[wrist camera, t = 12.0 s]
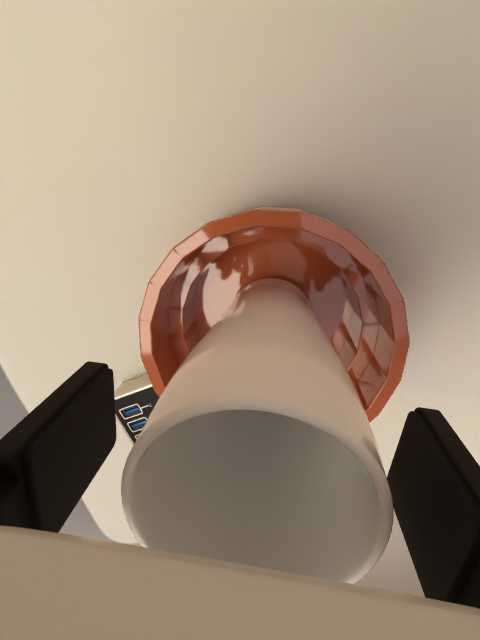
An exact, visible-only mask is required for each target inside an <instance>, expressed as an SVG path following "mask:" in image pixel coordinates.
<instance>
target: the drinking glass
mask: <svg viewBox="0 0 480 640" xmlns="http://www.w3.org/2000/svg"><path fill="white" fill-rule="evenodd" d="M121 495H122V504H123V509H124V513H125V516H126V519H127V522H128V524H129V526H130V528H131V530H132V532H133V534H134V536H135V538H136V539H137V541H138V542H139V544H140V545H141V546H142V547H146V548H152V549H158V550H164V551H169V552H175V553H181V554H187V555H193V556H198V557H204V558H210V559H215V560H221V561H227V562H233V563H238V564H244V565H250V566H255V567H261V568H267V569H272V570H278V571H284V572H289V573H295V574H300V575H306V576H311V577H317V578H322V579H328V580H333V581H339V582H344V583H350V584H355V583H356V582H357V581H359V580H360V579H361V578H362V577H364V576H365V575H366V574H367V572H369V571H370V570H371V569H372V568H373V566H374V565H375V564H376V563H377V561H378V560H379V559H380V557H381V555H382V554H383V552H384V550H385V548H386V546H387V544H388V541H389V538H390V534H391V531H392V525H393V501H392V495H391V491H390V487H389V484H388V481H387V478H386V475H385V471H384V468H383V464H382V461H381V457H380V454H379V451H378V447H377V444H376V441H375V438H374V435H373V432H372V429H371V426H370V423H369V421H368V418H367V415H366V412H365V410H364V407H363V405H362V402H361V400H360V397H359V395H358V393H357V390H356V388H355V386H354V384H353V382H352V380H351V378H350V376H349V374H348V372H347V370H346V368H345V366H344V365H343V363H342V361H341V359H340V357H339V356H338V354H337V352H336V350H335V349H334V347H333V345H332V344H331V342H330V340H329V339H328V337H327V335H326V333H325V332H324V330H323V328H322V326H321V325H320V323H319V321H318V319H317V318H316V316H315V314H314V312H313V308H312V305H311V303H310V301H309V299H308V298H307V296H306V295H305V293H304V292H303V291H302V290H301V289H300V288H298V287H297V286H296V285H294V284H293V283H291V282H289V281H286V280H283V279H278V278H263V279H259V280H256V281H253V282H251V283H249V284H248V285H246V286H245V287H244V288H242V289H241V290H240V291H239V292H238V294H237V295H236V296H235V298H234V299H233V301H232V303H231V305H230V306H229V307H228V309H227V310H226V311H225V312H224V313H223V314H222V316H221V317H220V318H219V319H218V320H217V321H216V323H215V324H214V325H213V326H212V327H211V328H210V329H209V331H208V332H207V333H206V334H205V335H204V336H203V338H202V339H201V340H200V341H199V342H198V343H197V345H196V346H195V347H194V348H193V349H192V351H191V352H190V353H189V354H188V355H187V357H186V358H185V359H184V361H183V362H182V363H181V365H180V366H179V367H178V369H177V370H176V372H175V373H174V375H173V376H172V378H171V379H170V381H169V383H168V384H167V386H166V387H165V389H164V391H163V392H162V394H161V396H160V397H159V399H158V401H157V402H156V404H155V406H154V408H153V410H152V411H151V413H150V415H149V417H148V419H147V421H146V423H145V425H144V427H143V429H142V431H141V433H140V435H139V437H138V439H137V440H136V442H135V444H134V446H133V447H132V449H131V451H130V453H129V456H128V458H127V460H126V463H125V467H124V470H123V475H122V483H121Z"/></svg>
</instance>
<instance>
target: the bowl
mask: <svg viewBox="0 0 480 640" xmlns="http://www.w3.org/2000/svg"><path fill="white" fill-rule="evenodd" d="M263 278H278V279H283V280H286V281H289V282H291V283H293V284H294V285H296V286H297V287H298V288H300V289H301V290H302V291H303V292H304V293H305V295H306V296H307V298H308V299H309V301H310V303H311V305H312V308H313V312H314V314H315V316H316V318H317V319H318V321H319V323H320V325H321V326H322V328H323V330H324V332H325V333H326V335H327V337H328V339H329V340H330V342H331V344H332V345H333V347H334V349H335V350H336V352H337V354H338V356H339V357H340V359H341V361H342V363H343V365H344V366H345V368H346V370H347V372H348V374H349V376H350V378H351V380H352V382H353V384H354V386H355V388H356V390H357V393H358V395H359V397H360V400H361V402H362V405H363V407H364V410H365V412H366V415H367V418H368V421H369V422H370V421H372V420H373V419H374V418H375V417H377V416H378V415H379V413H380V412H381V411H382V409H383V408H384V406H385V404H386V403H387V401H388V400H389V398H390V397H391V395H392V394H393V392H394V390H395V389H396V387H397V386H398V384H399V383H400V381H401V378H402V373H403V369H404V365H405V361H406V356H407V352H408V348H409V344H410V343H409V332H408V325H407V317H406V309H405V302H404V298H403V297H402V295H401V293H400V291H399V289H398V287H397V285H396V284H395V282H394V280H393V278H392V276H391V274H390V272H389V271H388V269H387V267H386V265H385V263H384V262H383V260H382V259H381V258H380V257H378V256H377V255H376V254H375V253H374V252H373V251H372V250H370V249H369V248H368V247H367V246H366V245H365V244H364V243H362V242H361V241H360V240H359V239H358V238H357V237H356V236H355V235H353V234H352V233H351V232H350V231H349V230H347V229H345V228H343V227H341V226H339V225H337V224H335V223H333V222H331V221H329V220H326V219H324V218H321V217H319V216H316V215H314V214H311V213H309V212H306V211H304V210H301V209H298V208H285V207H264V206H262V207H257V208H254V209H250V210H247V211H243V212H240V213H236V214H233V215H230V216H226V217H223V218H220V219H217V220H214V221H211V222H209V223H207V224H206V225H204V226H203V227H202V228H200V229H199V230H197V231H196V232H194V233H193V234H192V235H190V236H189V237H187V238H186V239H185V240H183V241H182V242H180V243H179V244H177V245H176V246H175V247H174V248H173V249H172V250H171V251H170V252H169V254H168V255H167V257H166V258H165V260H164V261H163V262H162V264H161V265H160V267H159V268H158V269H157V271H156V272H155V274H154V275H153V277H152V278H151V279H150V282H149V283H148V286H147V290H146V294H145V297H144V301H143V304H142V308H141V312H140V315H139V332H140V348H141V358H142V361H143V363H144V366H145V368H146V371H147V373H148V376H149V379H150V381H151V384H152V386H153V389H154V390H155V392H156V394H157V395H158V396H159V397H160V396H161V394H162V392H163V391H164V389H165V387H166V386H167V384H168V383H169V381H170V379H171V378H172V376H173V375H174V373H175V372H176V370H177V369H178V367H179V366H180V365H181V363H182V362H183V361H184V359H185V358H186V357H187V355H188V354H189V353H190V352H191V351H192V349H193V348H194V347H195V346H196V345H197V343H198V342H199V341H200V340H201V339H202V338H203V336H204V335H205V334H206V333H207V332H208V331H209V329H210V328H211V327H212V326H213V325H214V324H215V323H216V321H217V320H218V319H219V318H220V317H221V316H222V314H223V313H224V312H225V311H226V310H227V309H228V307H229V306H230V305H231V303H232V301H233V299H234V298H235V296H236V295H237V294H238V292H239V291H240V290H241V289H242V288H244V287H245V286H246V285H248V284H249V283H251V282H253V281H256V280H259V279H263Z"/></svg>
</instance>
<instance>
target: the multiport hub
mask: <svg viewBox="0 0 480 640" xmlns="http://www.w3.org/2000/svg"><path fill="white" fill-rule="evenodd" d="M114 399H115V417H116V418H117V420H118V422H119V423H120V425H121V426H122V428H123V429H124V431H125V433H126V434H127V436H128V437H129V439H130V441H131V442H132V444H133V445H134V444H135V442H136V440H137V439H138V437H139V435H140V433H141V431H142V429H143V427H144V425H145V423H146V421H147V419H148V417H149V415H150V413H151V411H152V410H153V408H154V406H155V404H156V402H157V401H158V399H159V396H158V395H157V394H156V392H155V390H154V389H153V386H152V384H151V381H150V379H149V376H148V373H147V374H145V375H142V376H139V377H137V378H134V379H131V380H129V381H126V382H123V383H122V384H121V385H120V386H119V388H118V389H117V390H116V391H115V392H114Z"/></svg>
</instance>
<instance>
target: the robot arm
mask: <svg viewBox="0 0 480 640" xmlns="http://www.w3.org/2000/svg"><path fill="white" fill-rule="evenodd" d="M115 441H116V418H115V399H114V380H113V371H112V369H109V368H108V365H107V364H104V363H97V362H86V363H85V364H84V365H83V366H82V367H81V368H80V369H78V370H77V371H76V372H75V373H74V374H73V375H72V376H71V377H70V378H68V379H67V380H66V381H65V382H64V383H63V384H62V385H61V386H60V387H58V388H57V389H56V390H55V391H54V392H53V393H52V394H51V395H50V396H48V397H47V398H46V399H45V400H44V401H43V402H42V403H41V404H40V405H38V406H37V407H36V408H35V409H34V410H33V411H32V412H31V413H30V414H28V415H27V416H26V417H25V418H24V419H23V420H22V421H21V422H19V423H18V424H17V425H16V426H15V427H14V428H13V429H12V430H11V431H10V432H8V433H7V434H6V435H5V436H4V437H3V438H2V439H1V440H0V640H480V466H479V465H478V463H477V462H476V461H475V459H474V458H473V457H472V455H471V454H470V452H469V451H468V450H467V448H466V447H465V445H464V444H463V443H462V441H461V440H460V438H459V437H458V436H457V434H456V433H455V431H454V430H453V429H452V427H451V426H450V425H449V423H448V422H447V420H446V419H445V418H444V416H443V415H442V413H441V412H440V411H438V410H434V409H427V408H419V407H418V408H416V409H415V411H414V412H413V411H411V412H409V414H408V416H407V419H406V422H405V425H404V428H403V431H402V434H401V437H400V440H399V443H398V446H397V449H396V452H395V455H394V458H393V461H392V464H391V467H390V470H389V473H388V476H387V481H388V484H389V487H390V491H391V495H392V501H393V508H394V510H395V513H396V516H397V519H398V522H399V524H400V527H401V530H402V533H403V536H404V538H405V541H406V544H407V547H408V550H409V552H410V555H411V558H412V561H413V564H414V566H415V569H416V572H417V575H418V578H419V581H420V583H421V586H422V589H423V592H424V595H425V597H420V596H415V595H410V594H405V593H399V592H394V591H388V590H383V589H377V588H372V587H366V586H361V585H355V584H350V583H344V582H339V581H333V580H328V579H322V578H317V577H311V576H306V575H300V574H295V573H289V572H284V571H278V570H272V569H267V568H261V567H255V566H250V565H244V564H238V563H233V562H227V561H221V560H215V559H210V558H204V557H198V556H193V555H187V554H181V553H175V552H169V551H164V550H158V549H152V548H146V547H140V546H134V545H128V544H122V543H116V542H110V541H104V540H98V539H93V538H87V537H81V536H74V535H67V534H61V533H58V532H59V531H60V529H61V527H62V526H63V525H64V523H65V521H66V520H67V518H68V517H69V515H70V514H71V512H72V510H73V509H74V507H75V506H76V504H77V503H78V501H79V500H80V498H81V497H82V495H83V493H84V492H85V490H86V489H87V487H88V486H89V484H90V483H91V481H92V479H93V478H94V476H95V475H96V473H97V472H98V470H99V469H100V467H101V466H102V464H103V462H104V461H105V459H106V458H107V456H108V455H109V453H110V452H111V450H112V448H113V447H114V444H115Z"/></svg>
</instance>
